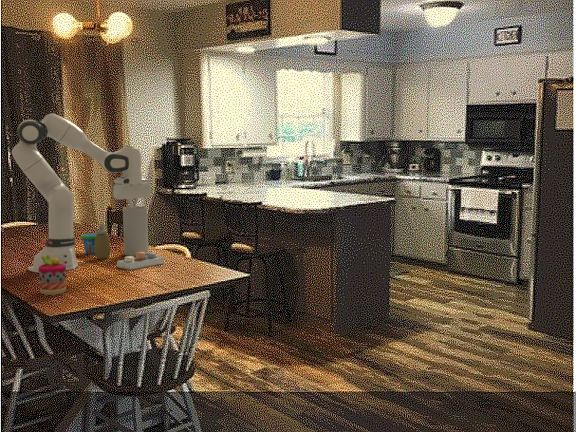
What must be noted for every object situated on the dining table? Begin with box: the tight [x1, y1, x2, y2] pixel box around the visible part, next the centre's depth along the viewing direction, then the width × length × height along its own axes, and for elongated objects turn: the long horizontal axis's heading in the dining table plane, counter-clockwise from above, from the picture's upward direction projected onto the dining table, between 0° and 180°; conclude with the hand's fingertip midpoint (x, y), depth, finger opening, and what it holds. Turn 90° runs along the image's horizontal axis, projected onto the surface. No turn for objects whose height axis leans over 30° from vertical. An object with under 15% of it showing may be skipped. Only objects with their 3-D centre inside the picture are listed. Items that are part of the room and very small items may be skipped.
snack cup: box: [80, 232, 97, 255], centre depth 337 cm, size 16×10×10 cm
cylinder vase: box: [122, 205, 149, 257], centre depth 335 cm, size 12×12×25 cm
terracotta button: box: [135, 252, 146, 260], centre depth 308 cm, size 4×4×3 cm
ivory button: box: [124, 255, 135, 263], centre depth 303 cm, size 4×4×3 cm
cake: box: [38, 255, 68, 296], centre depth 254 cm, size 10×11×15 cm
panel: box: [116, 255, 165, 271], centre depth 308 cm, size 20×10×3 cm, turn 140°
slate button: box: [146, 252, 157, 259], centre depth 313 cm, size 4×4×3 cm
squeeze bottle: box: [94, 223, 111, 260], centre depth 324 cm, size 8×8×18 cm
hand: (132, 207), depth 311 cm, fingers closed
